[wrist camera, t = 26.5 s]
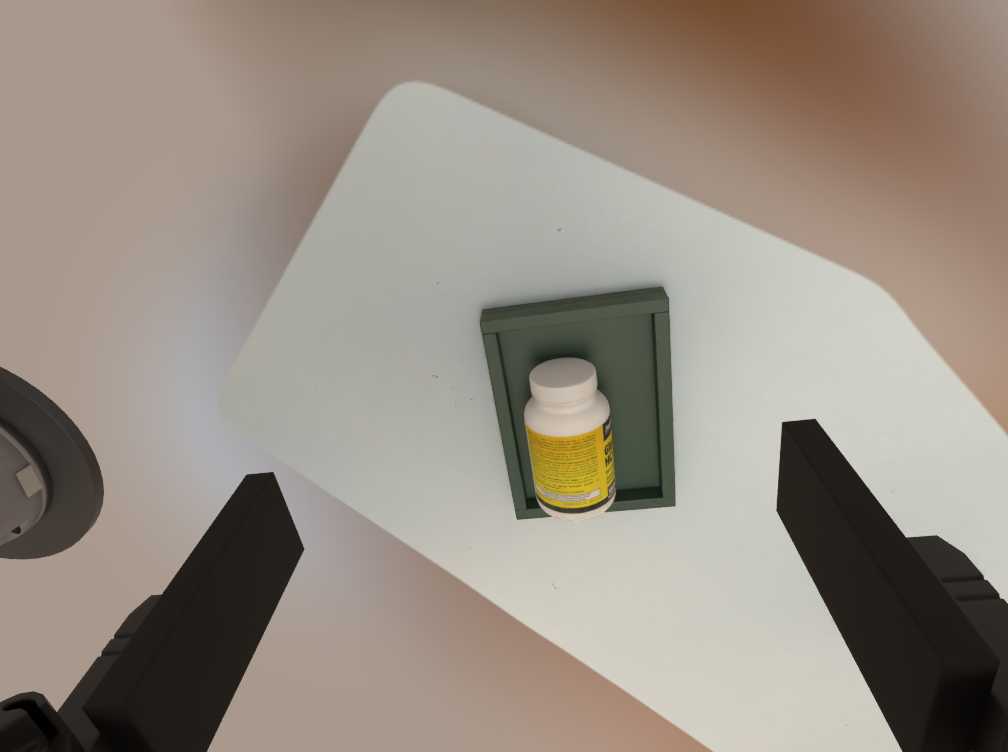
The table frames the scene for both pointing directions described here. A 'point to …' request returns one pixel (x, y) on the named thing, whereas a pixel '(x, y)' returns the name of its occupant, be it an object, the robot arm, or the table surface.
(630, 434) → the tray
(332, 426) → the table surface
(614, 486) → the pill bottle
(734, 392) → the table surface
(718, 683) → the table surface
